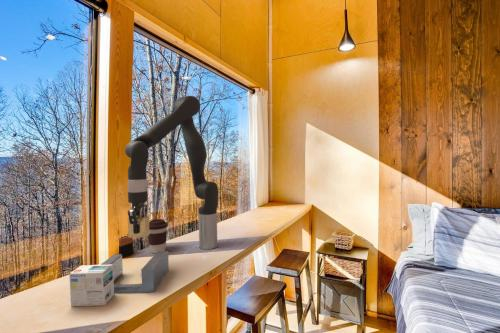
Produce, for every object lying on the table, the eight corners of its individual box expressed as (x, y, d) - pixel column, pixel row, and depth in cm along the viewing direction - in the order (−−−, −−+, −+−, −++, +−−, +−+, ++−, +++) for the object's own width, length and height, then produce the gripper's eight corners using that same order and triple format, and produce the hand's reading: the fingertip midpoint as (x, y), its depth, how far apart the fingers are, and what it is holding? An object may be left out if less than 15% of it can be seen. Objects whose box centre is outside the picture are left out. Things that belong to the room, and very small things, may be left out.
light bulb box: (115, 294, 89) (113, 263, 89) (104, 306, 83) (103, 272, 82) (82, 295, 89) (81, 264, 89) (69, 307, 82) (68, 273, 82)
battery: (115, 257, 123) (114, 235, 122) (127, 252, 129) (127, 232, 128) (121, 258, 121) (120, 237, 120) (133, 253, 127) (133, 233, 126)
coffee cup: (161, 255, 124) (160, 223, 123) (142, 254, 126) (141, 222, 125) (172, 247, 134) (171, 218, 133) (154, 246, 136) (153, 217, 135)
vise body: (104, 271, 107) (103, 252, 107) (168, 270, 107) (168, 251, 107) (77, 293, 90) (76, 270, 90) (153, 292, 91) (153, 269, 90)
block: (132, 234, 111) (132, 215, 111) (149, 234, 111) (148, 215, 111) (128, 237, 107) (127, 218, 107) (145, 237, 107) (145, 217, 107)
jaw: (107, 273, 105) (106, 254, 104) (124, 273, 105) (123, 254, 105) (89, 289, 93) (88, 267, 92) (108, 288, 93) (107, 267, 93)
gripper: (139, 192, 101) (140, 237, 102) (153, 188, 115) (154, 227, 116) (119, 192, 101) (121, 237, 102) (136, 188, 116) (137, 227, 116)
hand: (139, 231), depth 109 cm, fingers closed on block, 4 cm apart
